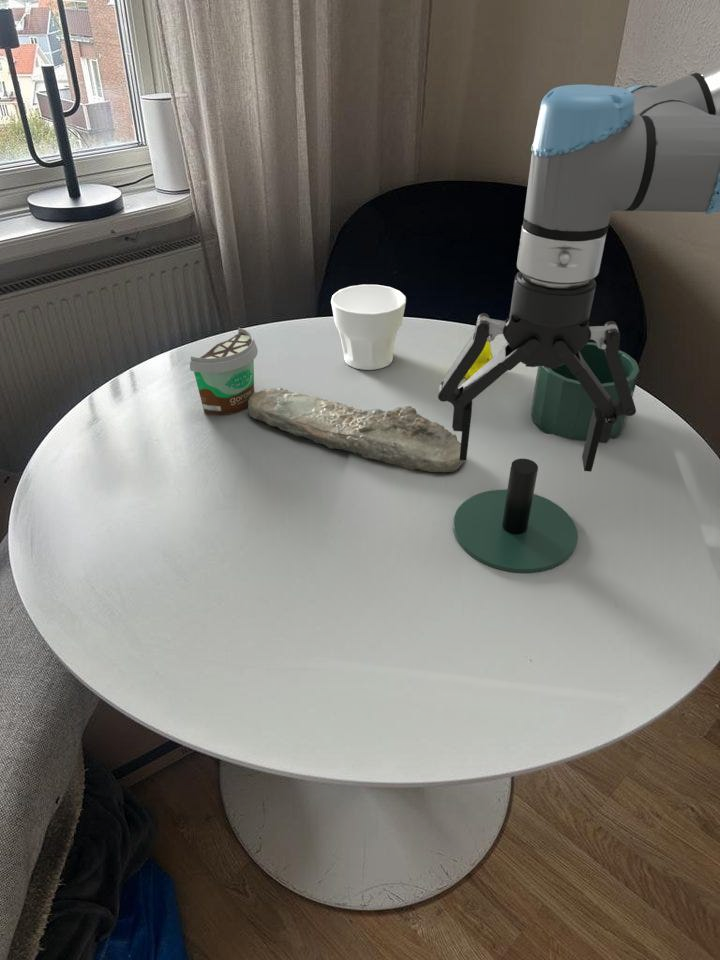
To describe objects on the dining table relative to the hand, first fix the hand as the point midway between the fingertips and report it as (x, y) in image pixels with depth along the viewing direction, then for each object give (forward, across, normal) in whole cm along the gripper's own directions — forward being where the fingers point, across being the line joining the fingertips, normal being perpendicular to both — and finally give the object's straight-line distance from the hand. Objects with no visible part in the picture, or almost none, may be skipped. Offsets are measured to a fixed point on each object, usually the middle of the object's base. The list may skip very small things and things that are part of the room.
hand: (524, 459), depth 79 cm
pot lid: (+10, 0, 0) cm, 11 cm away
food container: (+12, -42, +25) cm, 50 cm away
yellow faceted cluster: (+11, -5, +40) cm, 42 cm away
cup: (+11, -24, +43) cm, 50 cm away
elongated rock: (+11, -23, +18) cm, 31 cm away
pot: (+11, +10, +28) cm, 32 cm away
